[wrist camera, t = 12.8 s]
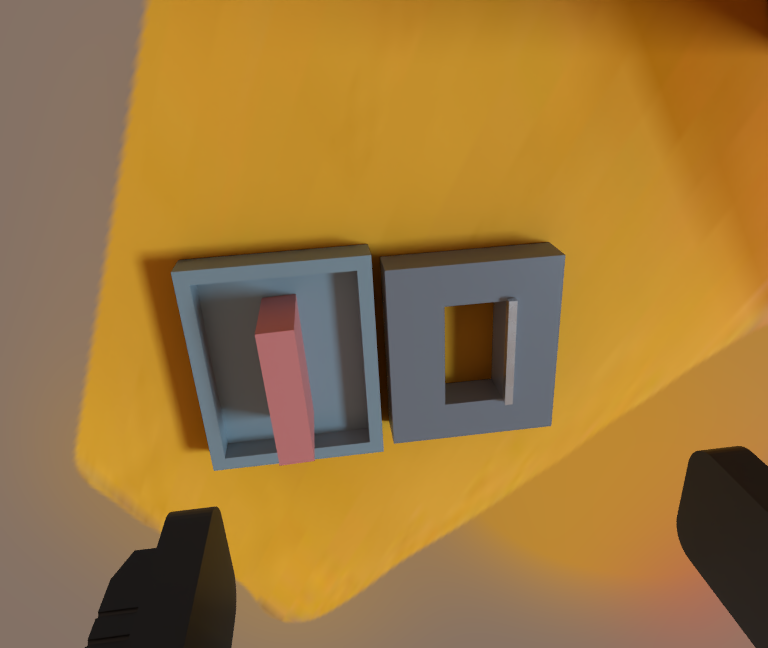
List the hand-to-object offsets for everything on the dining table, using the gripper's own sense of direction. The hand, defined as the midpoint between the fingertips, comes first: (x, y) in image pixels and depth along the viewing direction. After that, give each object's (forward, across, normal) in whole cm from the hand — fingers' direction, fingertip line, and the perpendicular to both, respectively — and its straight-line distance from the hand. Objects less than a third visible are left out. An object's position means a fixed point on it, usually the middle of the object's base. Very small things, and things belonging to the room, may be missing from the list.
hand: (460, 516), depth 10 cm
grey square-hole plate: (+32, -8, +13) cm, 36 cm away
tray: (+32, +6, +13) cm, 35 cm away
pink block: (+28, +5, +18) cm, 34 cm away
